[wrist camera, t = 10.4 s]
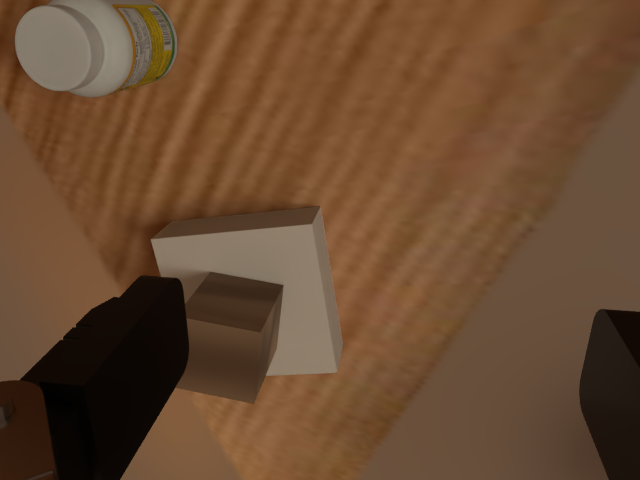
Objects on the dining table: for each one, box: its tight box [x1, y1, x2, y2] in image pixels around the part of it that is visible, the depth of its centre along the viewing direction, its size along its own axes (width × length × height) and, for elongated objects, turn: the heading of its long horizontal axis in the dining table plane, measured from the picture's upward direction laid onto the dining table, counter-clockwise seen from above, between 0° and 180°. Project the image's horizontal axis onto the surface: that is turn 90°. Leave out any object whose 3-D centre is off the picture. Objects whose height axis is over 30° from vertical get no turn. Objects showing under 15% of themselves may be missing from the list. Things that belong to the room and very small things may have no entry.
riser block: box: [151, 206, 343, 376], centre depth 41 cm, size 11×11×4 cm
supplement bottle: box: [15, 0, 177, 97], centre depth 32 cm, size 5×5×10 cm
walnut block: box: [175, 272, 284, 404], centre depth 36 cm, size 5×5×6 cm
